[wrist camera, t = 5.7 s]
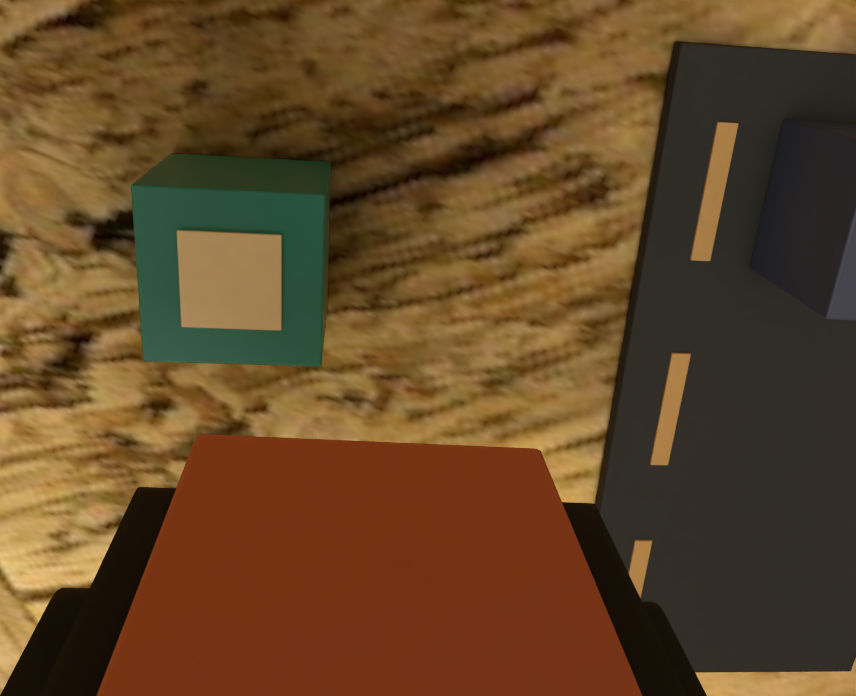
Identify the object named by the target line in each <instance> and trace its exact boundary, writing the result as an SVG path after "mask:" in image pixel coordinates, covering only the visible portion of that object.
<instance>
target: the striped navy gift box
mask: <svg viewBox="0 0 856 696" xmlns="http://www.w3.org/2000/svg"><path fill="white" fill-rule="evenodd" d="M750 268H751V269H752V270H753V271H755V272H756V273H758V274H759V275H761V276H762V277H764V278H765V279H767V280H768V281H770V282H771V283H773V284H774V285H776V286H777V287H779V288H780V289H782V290H783V291H785V292H786V293H788V294H789V295H791V296H792V297H794V298H795V299H797V300H798V301H800V302H801V303H803V304H804V305H806V306H807V307H809V308H810V309H812V310H813V311H815V312H816V313H818V314H819V315H821V316H822V317H824V318H825V319H835V320H856V123H843V122H827V121H812V120H796V119H784V121H783V125H782V129H781V134H780V138H779V142H778V147H777V151H776V156H775V160H774V164H773V169H772V173H771V178H770V182H769V186H768V191H767V195H766V200H765V204H764V209H763V213H762V217H761V222H760V226H759V231H758V235H757V239H756V244H755V248H754V253H753V257H752V262H751V266H750Z"/></svg>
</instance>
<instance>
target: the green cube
mask: <svg viewBox="0 0 856 696" xmlns="http://www.w3.org/2000/svg"><path fill="white" fill-rule="evenodd" d="M330 181H331V163H330V162H323V161H305V160H286V159H268V158H250V157H232V156H214V155H196V154H178V153H172V154H170V155H169V156H168V157H166V158H165V159H164V160H163V161H161V162H160V163H159V164H158V165H156V166H155V167H154V168H152V169H151V170H150V171H149V172H147V173H146V174H145V175H144V176H142V177H141V178H140V179H138V180H137V181H136V182H135V183H133V184H132V185H131V192H132V207H133V221H134V236H135V250H136V265H137V279H138V294H139V308H140V322H141V337H142V351H143V360H144V361H156V362H189V363H222V364H255V365H287V366H321V365H322V358H323V348H324V338H325V328H326V318H327V308H328V267H329V224H330Z"/></svg>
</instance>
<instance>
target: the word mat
mask: <svg viewBox="0 0 856 696" xmlns="http://www.w3.org/2000/svg"><path fill="white" fill-rule="evenodd" d="M784 119H796V120H812V121H827V122H843V123H856V54H842V53H828V52H815V51H801V50H787V49H773V48H760V47H746V46H732V45H718V44H705V43H691V42H675V44H674V49H673V55H672V60H671V66H670V72H669V78H668V84H667V90H666V95H665V101H664V107H663V113H662V119H661V125H660V130H659V136H658V142H657V148H656V154H655V160H654V165H653V171H652V177H651V183H650V189H649V195H648V200H647V206H646V212H645V218H644V224H643V230H642V235H641V241H640V247H639V253H638V259H637V265H636V270H635V276H634V282H633V288H632V294H631V300H630V305H629V311H628V317H627V323H626V329H625V335H624V340H623V346H622V352H621V358H620V364H619V370H618V375H617V381H616V387H615V393H614V399H613V405H612V410H611V416H610V422H609V428H608V434H607V440H606V445H605V451H604V457H603V463H602V469H601V475H600V480H599V486H598V492H597V498H596V504H595V506H596V507H597V509H598V511H599V513H600V515H601V517H602V519H603V521H604V523H605V526H606V528H607V530H608V532H609V534H610V536H611V538H612V540H613V542H614V544H615V546H616V548H617V551H618V553H619V555H620V557H621V559H622V561H623V563H624V565H625V567H626V569H627V571H628V573H629V576H630V578H631V580H632V582H633V584H634V586H635V588H636V590H637V592H638V594H639V596H640V598H641V601H649V602H655V603H657V604H658V605H659V606H660V607H661V609H662V610H663V611H664V613H665V615H666V617H667V619H668V621H669V623H670V625H671V627H672V629H673V630H674V632H675V634H676V636H677V638H678V640H679V642H680V644H681V646H682V648H683V650H684V652H685V654H686V656H687V658H688V660H689V662H690V664H691V666H692V668H693V670H694V672H810V671H851V669H852V666H853V663H854V660H855V657H856V320H835V319H825V318H824V317H822V316H821V315H819V314H818V313H816V312H815V311H813V310H812V309H810V308H809V307H807V306H806V305H804V304H803V303H801V302H800V301H798V300H797V299H795V298H794V297H792V296H791V295H789V294H788V293H786V292H785V291H783V290H782V289H780V288H779V287H777V286H776V285H774V284H773V283H771V282H770V281H768V280H767V279H765V278H764V277H762V276H761V275H759V274H758V273H756V272H755V271H753V270H752V269H751V268H750V266H751V262H752V257H753V253H754V248H755V244H756V239H757V235H758V231H759V226H760V222H761V217H762V213H763V209H764V204H765V200H766V195H767V191H768V186H769V182H770V178H771V173H772V169H773V164H774V160H775V156H776V151H777V147H778V142H779V138H780V134H781V129H782V125H783V121H784Z"/></svg>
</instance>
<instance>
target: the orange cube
mask: <svg viewBox="0 0 856 696" xmlns="http://www.w3.org/2000/svg"><path fill="white" fill-rule="evenodd" d="M97 696H642V694H641V691H640V689H639V687H638V684H637V682H636V679H635V677H634V675H633V672H632V670H631V667H630V665H629V663H628V660H627V658H626V655H625V653H624V651H623V648H622V646H621V643H620V641H619V639H618V636H617V634H616V631H615V629H614V627H613V624H612V622H611V619H610V617H609V614H608V612H607V610H606V607H605V605H604V602H603V600H602V598H601V595H600V593H599V590H598V588H597V586H596V583H595V581H594V578H593V576H592V574H591V571H590V569H589V566H588V564H587V562H586V559H585V557H584V554H583V552H582V549H581V547H580V545H579V542H578V540H577V537H576V535H575V533H574V530H573V528H572V525H571V523H570V521H569V518H568V516H567V513H566V511H565V509H564V506H563V504H562V501H561V499H560V497H559V494H558V492H557V489H556V487H555V485H554V482H553V480H552V477H551V475H550V472H549V470H548V468H547V465H546V463H545V460H544V458H543V456H542V453H541V451H540V450H537V449H530V448H507V447H484V446H461V445H438V444H415V443H391V442H368V441H345V440H322V439H299V438H276V437H252V436H229V435H206V434H202V435H198V436H197V437H196V439H195V441H194V444H193V446H192V449H191V452H190V454H189V457H188V459H187V462H186V465H185V467H184V470H183V472H182V475H181V478H180V480H179V483H178V485H177V488H176V490H175V493H174V496H173V498H172V501H171V503H170V506H169V509H168V511H167V514H166V516H165V519H164V522H163V524H162V527H161V529H160V532H159V535H158V537H157V540H156V542H155V545H154V548H153V550H152V553H151V555H150V558H149V561H148V563H147V566H146V568H145V571H144V574H143V576H142V579H141V581H140V584H139V587H138V589H137V592H136V594H135V597H134V600H133V602H132V605H131V607H130V610H129V613H128V615H127V618H126V620H125V623H124V626H123V628H122V631H121V633H120V636H119V639H118V641H117V644H116V646H115V649H114V652H113V654H112V657H111V659H110V662H109V665H108V667H107V670H106V672H105V675H104V678H103V680H102V683H101V685H100V688H99V691H98V693H97Z"/></svg>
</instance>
